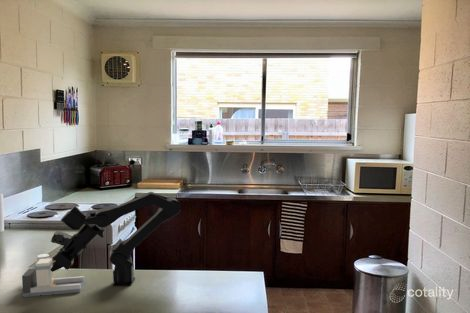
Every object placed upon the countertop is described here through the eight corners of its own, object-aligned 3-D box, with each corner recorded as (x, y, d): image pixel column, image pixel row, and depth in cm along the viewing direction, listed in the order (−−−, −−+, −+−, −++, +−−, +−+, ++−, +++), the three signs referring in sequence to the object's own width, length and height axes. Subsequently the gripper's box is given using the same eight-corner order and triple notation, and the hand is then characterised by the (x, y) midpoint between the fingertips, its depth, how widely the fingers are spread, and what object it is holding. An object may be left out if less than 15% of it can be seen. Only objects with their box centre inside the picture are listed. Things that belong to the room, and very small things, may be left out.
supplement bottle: (45, 283, 142) (44, 258, 141) (32, 282, 143) (31, 257, 142) (55, 278, 147) (54, 253, 146) (42, 277, 148) (41, 252, 147)
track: (84, 283, 142) (83, 264, 141) (80, 292, 134) (79, 272, 134) (30, 287, 139) (29, 268, 138) (22, 297, 131) (21, 276, 130)
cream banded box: (53, 282, 139) (52, 258, 138) (49, 288, 134) (48, 263, 133) (41, 283, 138) (40, 258, 137) (36, 289, 133) (35, 263, 132)
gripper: (71, 217, 144) (41, 247, 143) (58, 230, 126) (24, 265, 125) (94, 236, 147) (64, 266, 145) (85, 252, 128) (51, 286, 127)
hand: (51, 270), depth 136 cm, fingers closed, pressing on cream banded box
